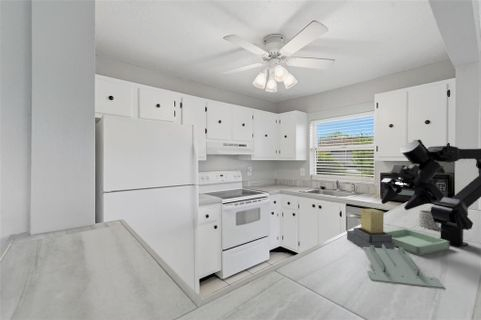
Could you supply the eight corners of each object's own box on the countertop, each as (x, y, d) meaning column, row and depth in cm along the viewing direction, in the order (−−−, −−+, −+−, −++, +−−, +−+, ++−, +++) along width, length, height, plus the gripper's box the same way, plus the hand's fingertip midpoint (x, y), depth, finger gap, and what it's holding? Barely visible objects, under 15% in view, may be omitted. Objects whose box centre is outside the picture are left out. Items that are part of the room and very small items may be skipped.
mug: (441, 230, 88) (441, 214, 88) (420, 227, 92) (420, 212, 92) (435, 224, 96) (435, 210, 96) (416, 222, 100) (417, 208, 100)
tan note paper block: (372, 234, 73) (373, 208, 73) (383, 239, 69) (383, 211, 69) (360, 235, 73) (361, 209, 73) (370, 240, 68) (371, 212, 68)
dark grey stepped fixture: (368, 238, 78) (368, 224, 78) (394, 251, 67) (394, 235, 67) (346, 238, 77) (347, 225, 77) (370, 252, 66) (370, 236, 66)
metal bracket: (354, 239, 62) (412, 243, 59) (352, 255, 64) (409, 260, 61) (374, 278, 49) (450, 286, 46) (371, 297, 50) (444, 307, 48)
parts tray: (404, 234, 82) (405, 228, 82) (449, 248, 70) (449, 241, 70) (376, 239, 77) (376, 232, 77) (418, 255, 64) (418, 247, 64)
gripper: (385, 157, 82) (359, 185, 80) (436, 156, 63) (402, 193, 62) (403, 177, 83) (377, 206, 81) (458, 182, 64) (426, 219, 63)
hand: (393, 205), depth 72 cm, fingers open, 9 cm apart
